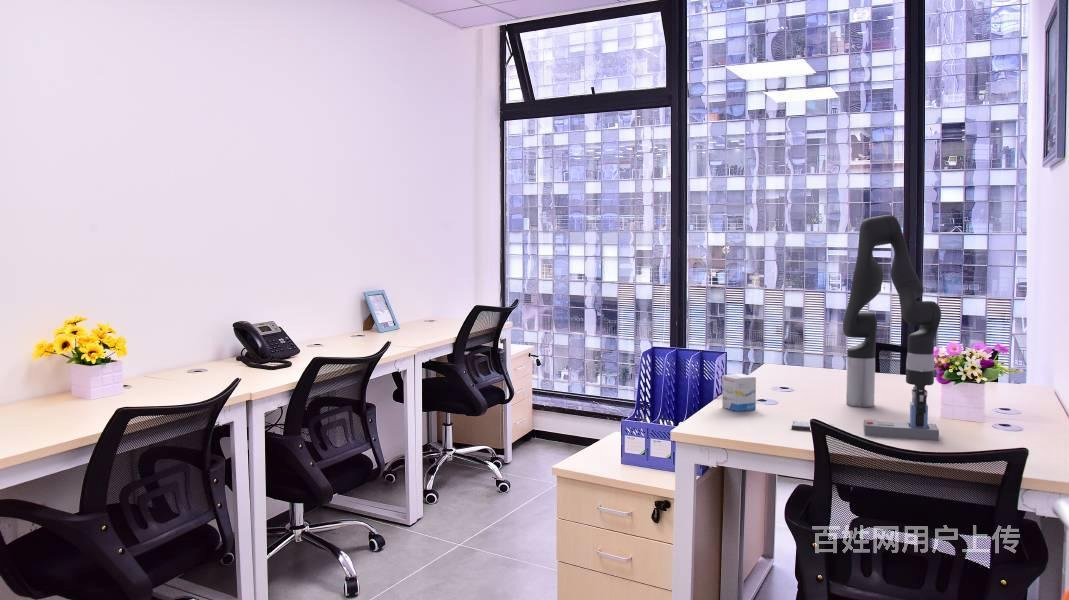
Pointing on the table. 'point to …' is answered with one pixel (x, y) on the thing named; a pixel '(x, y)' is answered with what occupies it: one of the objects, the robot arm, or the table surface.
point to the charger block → (912, 415)
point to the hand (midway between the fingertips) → (918, 424)
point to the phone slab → (802, 425)
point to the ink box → (739, 392)
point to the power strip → (900, 430)
